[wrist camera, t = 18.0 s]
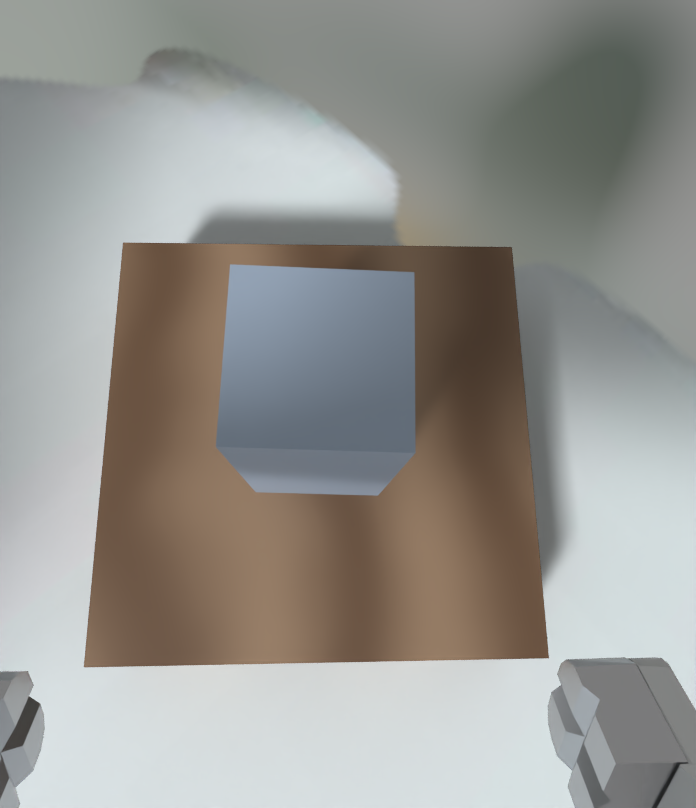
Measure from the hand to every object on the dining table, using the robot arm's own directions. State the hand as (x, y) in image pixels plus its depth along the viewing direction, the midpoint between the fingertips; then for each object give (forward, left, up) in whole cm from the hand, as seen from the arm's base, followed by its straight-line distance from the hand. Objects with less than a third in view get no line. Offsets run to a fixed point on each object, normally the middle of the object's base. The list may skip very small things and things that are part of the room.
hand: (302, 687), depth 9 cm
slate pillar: (0, +7, -12) cm, 14 cm away
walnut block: (0, +7, -17) cm, 18 cm away
